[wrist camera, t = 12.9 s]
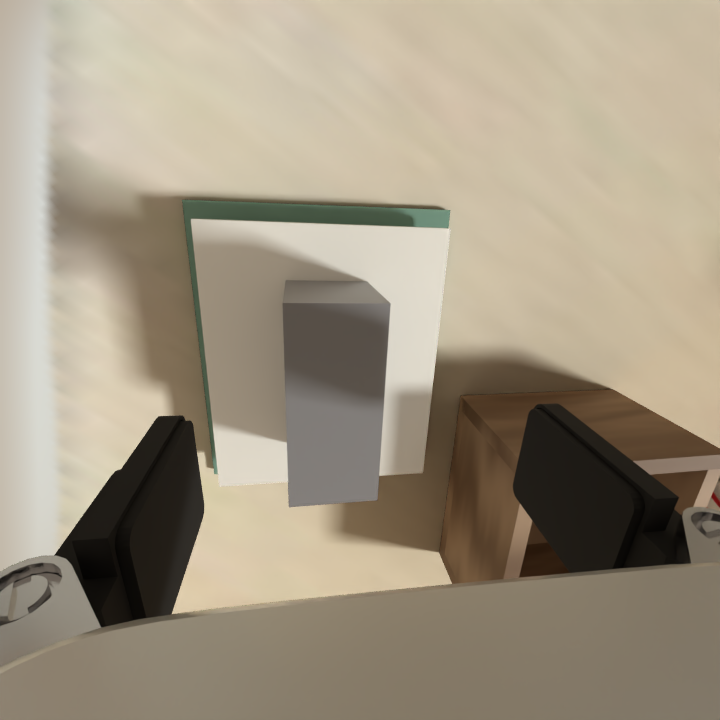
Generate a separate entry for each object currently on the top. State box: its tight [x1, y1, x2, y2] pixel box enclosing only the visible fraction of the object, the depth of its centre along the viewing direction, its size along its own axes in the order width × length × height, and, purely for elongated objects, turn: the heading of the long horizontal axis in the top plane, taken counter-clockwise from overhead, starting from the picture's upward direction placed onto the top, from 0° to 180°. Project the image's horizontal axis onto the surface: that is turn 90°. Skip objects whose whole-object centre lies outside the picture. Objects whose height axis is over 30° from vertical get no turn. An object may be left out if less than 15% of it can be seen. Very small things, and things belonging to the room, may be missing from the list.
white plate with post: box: [191, 219, 451, 507], centre depth 17 cm, size 13×11×6 cm
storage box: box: [439, 389, 720, 584], centre depth 22 cm, size 12×10×7 cm
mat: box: [182, 200, 450, 474], centre depth 20 cm, size 14×12×1 cm
